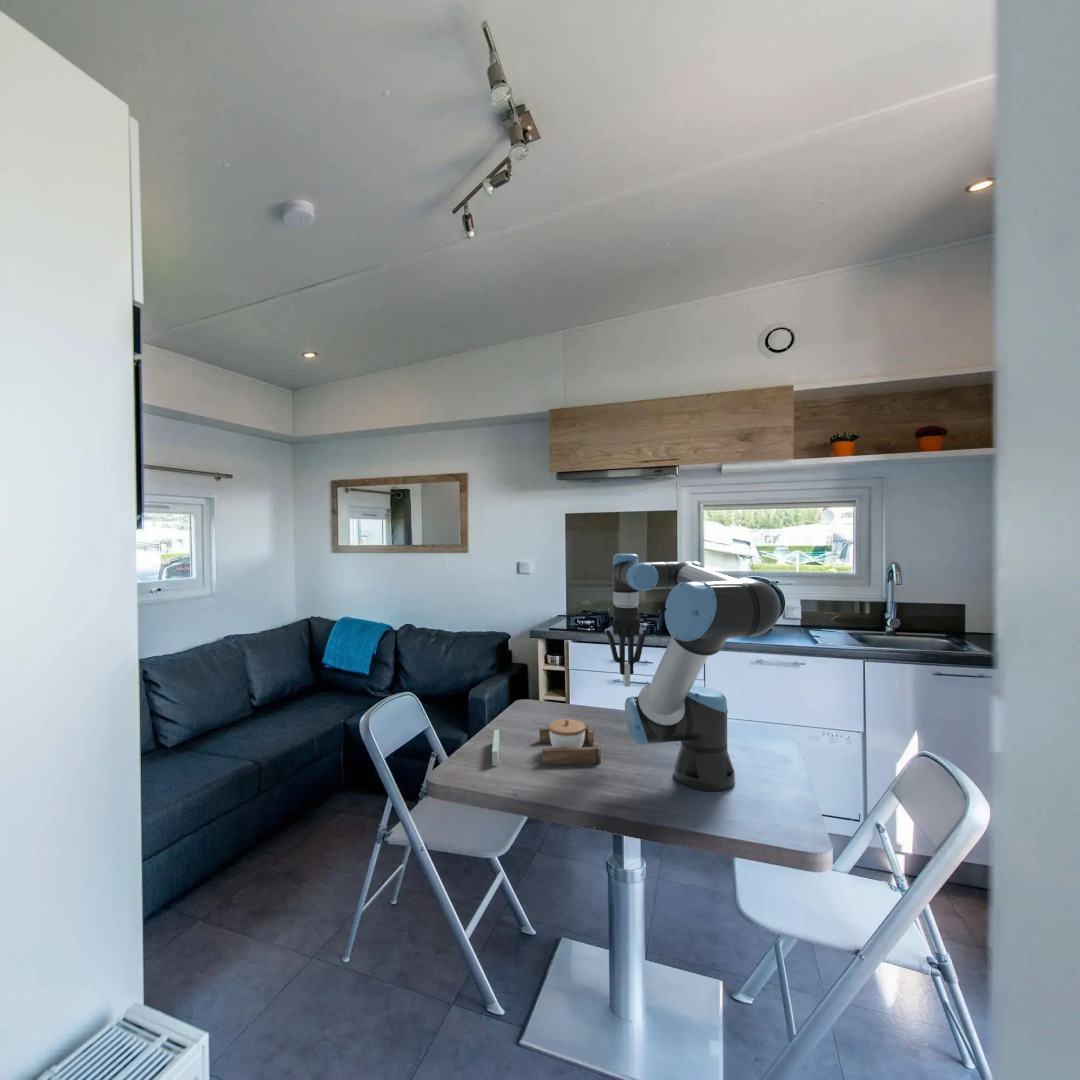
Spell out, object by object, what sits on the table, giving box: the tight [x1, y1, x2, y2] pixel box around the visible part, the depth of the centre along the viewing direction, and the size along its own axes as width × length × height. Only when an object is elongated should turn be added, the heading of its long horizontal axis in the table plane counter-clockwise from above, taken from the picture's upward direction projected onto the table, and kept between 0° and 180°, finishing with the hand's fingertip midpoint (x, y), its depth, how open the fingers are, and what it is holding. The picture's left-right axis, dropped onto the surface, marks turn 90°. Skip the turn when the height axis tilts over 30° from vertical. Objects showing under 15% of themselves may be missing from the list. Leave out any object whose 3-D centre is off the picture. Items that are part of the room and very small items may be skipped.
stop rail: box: [491, 729, 500, 767], centre depth 152 cm, size 16×2×4 cm, turn 3°
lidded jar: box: [548, 718, 586, 748], centre depth 153 cm, size 11×11×9 cm
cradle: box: [539, 725, 602, 766], centre depth 153 cm, size 17×16×4 cm
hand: (626, 685), depth 154 cm, fingers closed
